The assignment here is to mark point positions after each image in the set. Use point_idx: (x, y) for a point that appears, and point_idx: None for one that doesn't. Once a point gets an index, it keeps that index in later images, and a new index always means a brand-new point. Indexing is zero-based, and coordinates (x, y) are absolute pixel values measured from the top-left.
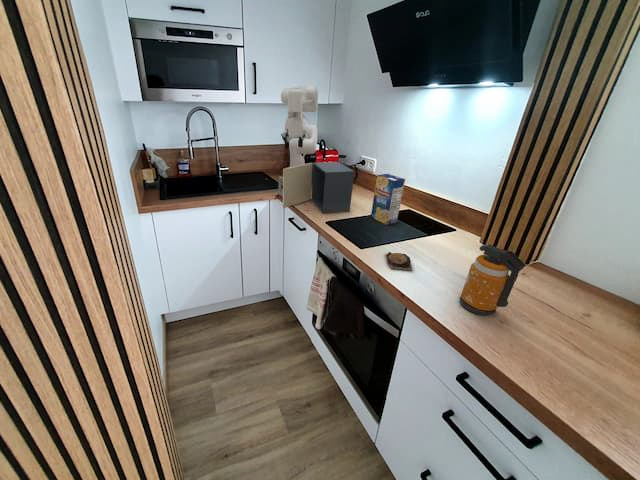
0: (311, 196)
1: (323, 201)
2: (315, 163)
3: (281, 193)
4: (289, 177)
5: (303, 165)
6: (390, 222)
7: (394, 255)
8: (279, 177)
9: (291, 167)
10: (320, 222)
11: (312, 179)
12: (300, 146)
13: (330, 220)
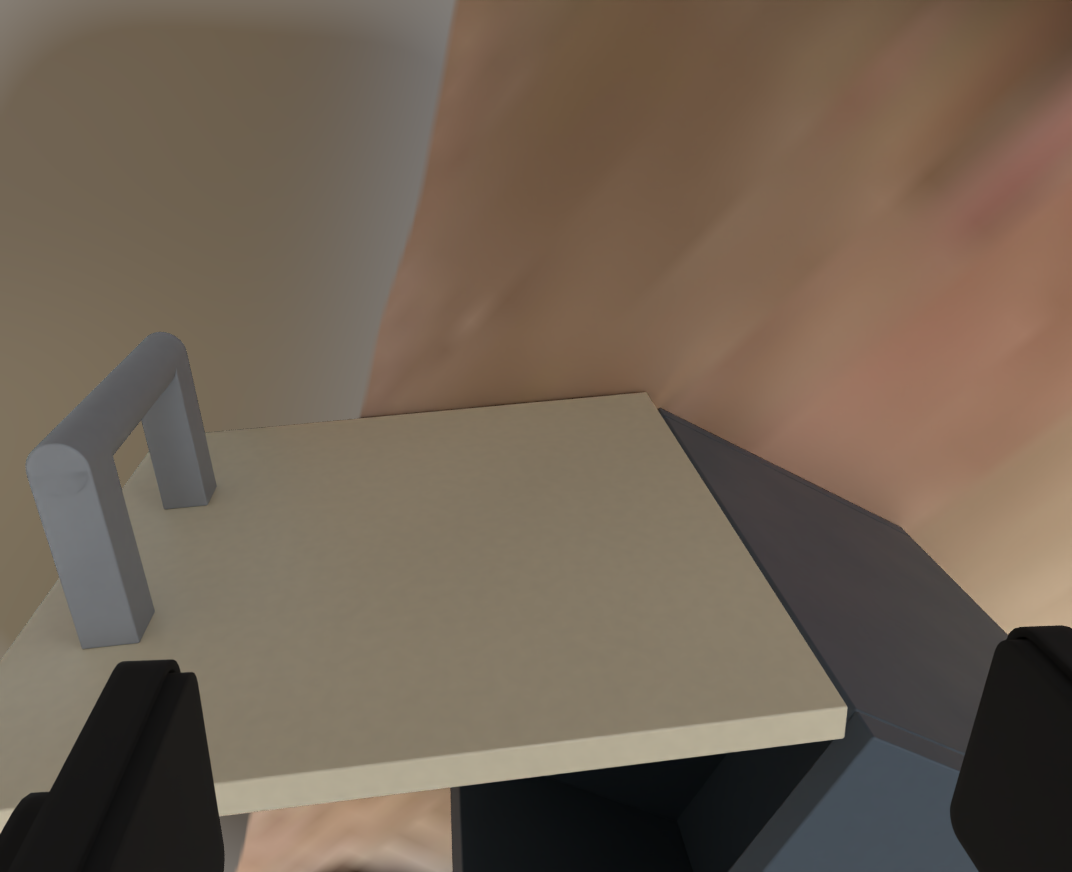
0: (667, 424)
1: (458, 830)
2: (839, 806)
3: (146, 422)
4: None
5: (533, 771)
6: None
7: None
8: (32, 486)
9: None
10: (282, 858)
11: (741, 540)
12: (974, 793)
13: (386, 867)
